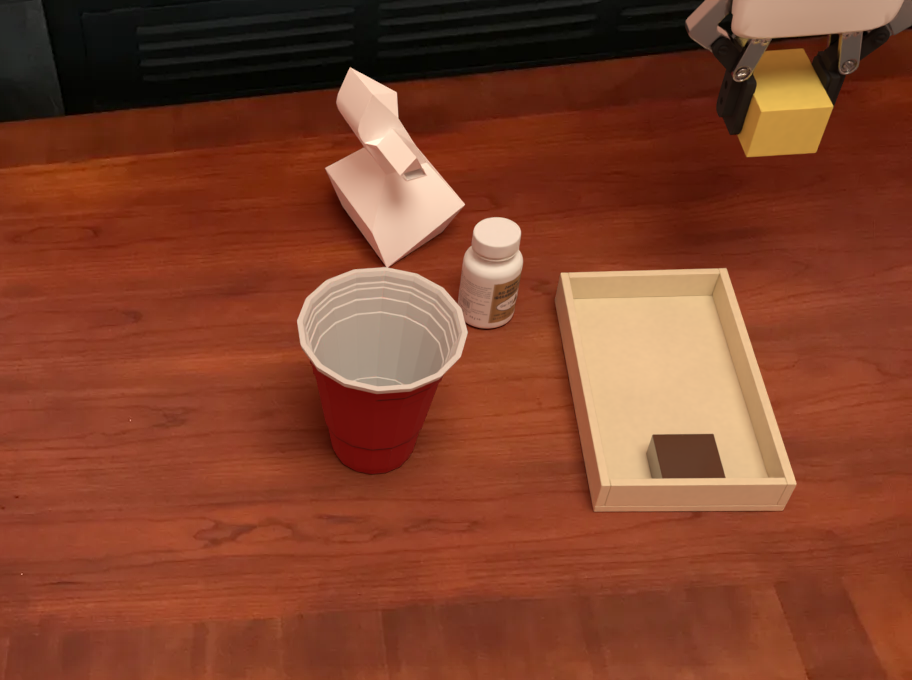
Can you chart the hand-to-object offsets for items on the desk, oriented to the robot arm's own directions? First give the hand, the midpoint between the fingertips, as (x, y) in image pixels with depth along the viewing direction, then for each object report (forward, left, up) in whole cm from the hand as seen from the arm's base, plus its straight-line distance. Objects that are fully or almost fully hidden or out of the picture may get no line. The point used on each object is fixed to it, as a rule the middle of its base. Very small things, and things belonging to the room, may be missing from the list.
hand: (769, 118), depth 79 cm
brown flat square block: (+6, +21, -13) cm, 25 cm away
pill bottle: (+18, +3, -14) cm, 23 cm away
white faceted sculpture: (+25, -9, -14) cm, 30 cm away
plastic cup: (+27, +17, -14) cm, 35 cm away
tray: (+6, +13, -14) cm, 20 cm away
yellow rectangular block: (0, 0, -1) cm, 1 cm away
